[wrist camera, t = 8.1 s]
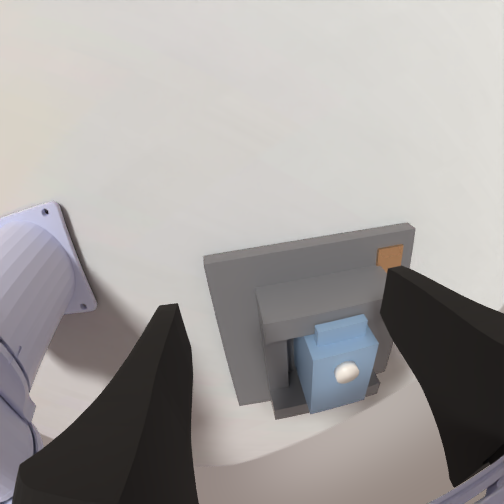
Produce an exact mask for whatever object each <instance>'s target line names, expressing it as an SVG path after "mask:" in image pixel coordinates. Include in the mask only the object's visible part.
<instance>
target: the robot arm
mask: <svg viewBox="0 0 504 504" xmlns="http://www.w3.org/2000/svg"><path fill="white" fill-rule="evenodd" d="M44 209H47V210H48V213H49V214H46V213H45V211H44ZM83 304H85V305H86V306H84V305H83ZM96 307H97V301H96V299H95V297H94V295H93V293H92V290H91V288H90V286H89V283H88V281H87V279H86V276H85V274H84V272H83V269H82V267H81V264H80V262H79V259H78V257H77V254H76V251H75V249H74V246H73V243H72V241H71V238H70V235H69V232H68V229H67V227H66V224H65V221H64V218H63V215H62V212H61V208H60V206H59V204H58V203H57V202H55V201H50V202H47V203H43V204H40V205H37V206H34V207H31V208H28V209H25V210H21V211H18V212H16V213H13V214H10V215H7V216H4V217H1V218H0V504H199V503H198V497H197V491H196V483H195V476H194V468H193V458H192V448H191V409H192V386H193V366H192V352H191V345H190V342H189V339H188V336H187V333H186V329H185V326H184V323H183V320H182V316H181V313H180V309H179V306H178V303H176V304H168V305H160V306H159V307H158V308H157V310H156V312H155V313H154V315H153V317H152V318H151V320H150V322H149V324H148V325H147V327H146V329H145V330H144V332H143V334H142V335H141V337H140V338H139V340H138V342H137V343H136V345H135V346H134V348H133V350H132V351H131V353H130V354H129V356H128V357H127V359H126V360H125V362H124V363H123V365H122V366H121V367H120V369H119V370H118V372H117V373H116V375H115V376H114V377H113V379H112V380H111V381H110V383H109V384H108V385H107V386H106V388H105V389H104V390H103V391H102V393H101V394H100V395H99V396H98V397H97V399H96V400H95V401H94V402H93V403H92V404H91V405H90V406H89V407H88V408H87V409H86V410H85V411H84V412H83V413H82V414H81V415H80V416H79V417H78V418H77V419H76V420H75V421H74V422H73V423H72V424H71V425H70V426H69V427H68V428H67V429H66V430H65V431H64V432H62V433H61V434H60V435H59V436H58V437H56V438H55V439H54V440H53V441H52V442H50V443H49V444H48V445H47V446H45V447H44V446H43V442H42V439H41V436H40V434H39V432H38V430H37V428H36V427H35V426H34V425H33V423H32V422H31V421H32V418H33V415H34V412H35V408H36V405H35V403H34V402H33V401H32V400H31V398H30V396H29V392H30V390H31V387H32V384H33V382H34V379H35V377H36V374H37V372H38V369H39V367H40V364H41V362H42V360H43V357H44V355H45V353H46V351H47V348H48V346H49V344H50V342H51V339H52V337H53V335H54V333H55V331H56V329H57V327H58V325H59V322H60V320H61V318H62V316H63V315H65V314H73V313H82V312H90V311H94V310H95V309H96ZM380 315H381V317H382V319H383V322H384V324H385V326H386V328H387V330H388V332H389V334H390V336H391V338H392V340H393V341H394V343H395V344H396V346H397V348H398V349H399V351H400V352H401V354H402V356H403V357H404V359H405V360H406V362H407V364H408V365H409V367H410V368H411V370H412V372H413V373H414V375H415V376H416V378H417V380H418V382H419V383H420V385H421V387H422V389H423V391H424V393H425V396H426V398H427V401H428V403H429V405H430V408H431V410H432V413H433V415H434V418H435V421H436V424H437V427H438V430H439V433H440V436H441V440H442V443H443V447H444V451H445V456H446V460H447V465H448V471H449V478H450V481H451V483H452V485H453V487H456V486H458V485H460V484H461V483H463V482H464V481H466V480H468V479H469V478H471V477H472V476H474V475H475V474H477V473H478V472H480V471H481V470H483V469H484V468H486V467H487V466H489V465H490V466H489V467H487V468H486V469H484V470H483V471H481V472H480V473H478V474H477V475H476V476H474V477H472V478H471V479H469V480H468V481H466V482H465V483H463V484H461V485H460V486H458V487H456V488H455V489H453V490H451V491H450V492H448V493H447V494H444V495H443V496H441V497H439V498H437V499H435V500H433V501H431V502H429V503H427V504H464V503H466V502H467V501H469V500H470V499H472V498H473V497H475V496H476V495H478V494H479V493H480V492H482V491H484V490H485V489H486V488H487V492H486V495H485V497H483V498H482V499H480V500H479V501H477V502H475V503H474V504H504V314H503V313H501V312H498V311H496V310H493V309H491V308H488V307H486V306H483V305H481V304H479V303H477V302H475V301H473V300H470V299H468V298H466V297H464V296H462V295H460V294H458V293H456V292H454V291H452V290H450V289H448V288H446V287H445V286H443V285H441V284H439V283H437V282H435V281H433V280H431V279H429V278H427V277H426V276H424V275H422V274H420V273H418V272H416V271H414V270H411V269H409V268H407V267H404V266H397V267H392V268H388V270H387V276H386V282H385V288H384V293H383V299H382V304H381V309H380Z"/></svg>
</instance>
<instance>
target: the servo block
mask: <svg viewBox="0 0 504 504" xmlns="http://www.w3.org/2000/svg"><path fill="white" fill-rule="evenodd" d="M367 323H368V320H367V318H366V317H365V315H364V314H361V315H357V316H353V317H349V318H344V319H340V320H336V321H332V322H327V323H323V324H318V325H315V334H311V335H307V336H302V337H297V338H293V343H294V364H295V367H296V370H297V373H298V377H299V380H300V383H301V386H302V389H303V393H304V396H305V399H306V402H307V405H308V408H309V412H310V414H313V413H317V412H321V411H325V410H329V409H333V408H336V407H340V406H344V405H347V404H350V403H354V402H357V401H360V400H364V398H365V395H366V391H367V388H368V384H369V381H370V377H371V373H372V369H373V366H374V362H375V358H376V354H377V349H378V345H379V343H378V341H377V339H376V338H375V336H374V334H373V333H372V331H371V330H370V328H369V326H368V325H367Z"/></svg>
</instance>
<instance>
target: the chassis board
mask: <svg viewBox="0 0 504 504" xmlns="http://www.w3.org/2000/svg"><path fill="white" fill-rule="evenodd" d="M414 236H415V228H414V227H413V226H411V225H410V224H409V223H402V224H396V225H390V226H384V227H377V228H371V229H365V230H359V231H353V232H346V233H340V234H334V235H328V236H322V237H316V238H310V239H303V240H297V241H291V242H285V243H279V244H273V245H267V246H261V247H255V248H249V249H243V250H237V251H231V252H225V253H219V254H213V255H207V256H204V268H205V273H206V277H207V282H208V286H209V290H210V294H211V299H212V303H213V307H214V311H215V315H216V319H217V323H218V327H219V331H220V335H221V339H222V343H223V347H224V351H225V355H226V358H227V362H228V366H229V370H230V373H231V377H232V381H233V384H234V388H235V391H236V395H237V399H238V402H239V406H242V405H248V404H254V403H260V402H266V401H271V402H272V407H273V411H274V415H275V420H277V419H282V418H287V417H292V416H296V415H301V414H305V413H309V408H308V405H307V402H306V399H305V396H304V393H303V389H302V386H301V383H300V380H299V377H298V373H297V370H296V367H295V364H294V343H293V338H297V337H302V336H307V335H311V334H315V325H318V324H323V323H327V322H332V321H336V320H340V319H344V318H349V317H353V316H357V315H361V314H364V315H365V317H366V318H367V320H368V323H367V325H368V326H369V328H370V330H371V331H372V333H373V334H374V336H375V338H376V339H377V341H378V343H379V345H378V349H377V354H376V358H375V362H374V366H373V369H372V373H371V377H370V381H369V384H368V388H367V391H366V395H365V397H367V396H370V395H373V394H376V393H377V391H378V388H379V385H380V382H379V380H378V378H377V376H376V374H378V373H381V372H384V371H385V368H386V365H387V362H388V358H389V355H390V351H391V348H392V344H393V340H392V338H391V336H390V334H389V332H388V330H387V328H386V326H385V324H384V322H383V319H382V317H381V315H380V309H381V304H382V299H383V293H384V288H385V282H386V276H387V270H388V268H392V267H397V266H404V267H407V268H410V262H411V256H412V249H413V243H414Z"/></svg>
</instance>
